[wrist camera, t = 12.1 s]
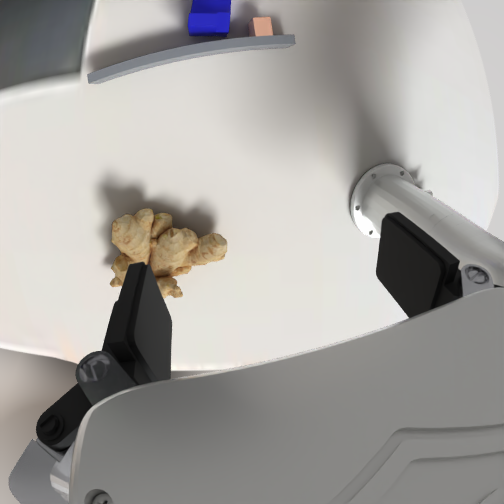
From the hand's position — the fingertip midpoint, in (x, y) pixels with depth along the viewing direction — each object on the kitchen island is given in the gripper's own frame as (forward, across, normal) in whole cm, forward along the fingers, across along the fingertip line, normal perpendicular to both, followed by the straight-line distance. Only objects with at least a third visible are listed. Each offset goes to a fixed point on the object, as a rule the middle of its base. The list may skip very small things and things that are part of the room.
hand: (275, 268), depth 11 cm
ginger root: (+29, +12, +13) cm, 34 cm away
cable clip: (+29, -2, -20) cm, 35 cm away
